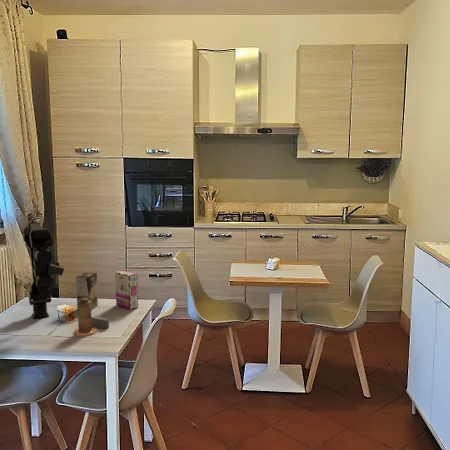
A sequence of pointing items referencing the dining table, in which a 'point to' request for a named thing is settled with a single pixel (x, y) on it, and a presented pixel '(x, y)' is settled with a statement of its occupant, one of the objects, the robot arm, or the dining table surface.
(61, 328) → the dining table surface
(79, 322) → the walnut mill
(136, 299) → the candy bar box
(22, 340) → the dining table surface
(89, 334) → the coaster
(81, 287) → the coffee box
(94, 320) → the grey flat bar
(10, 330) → the dining table surface
